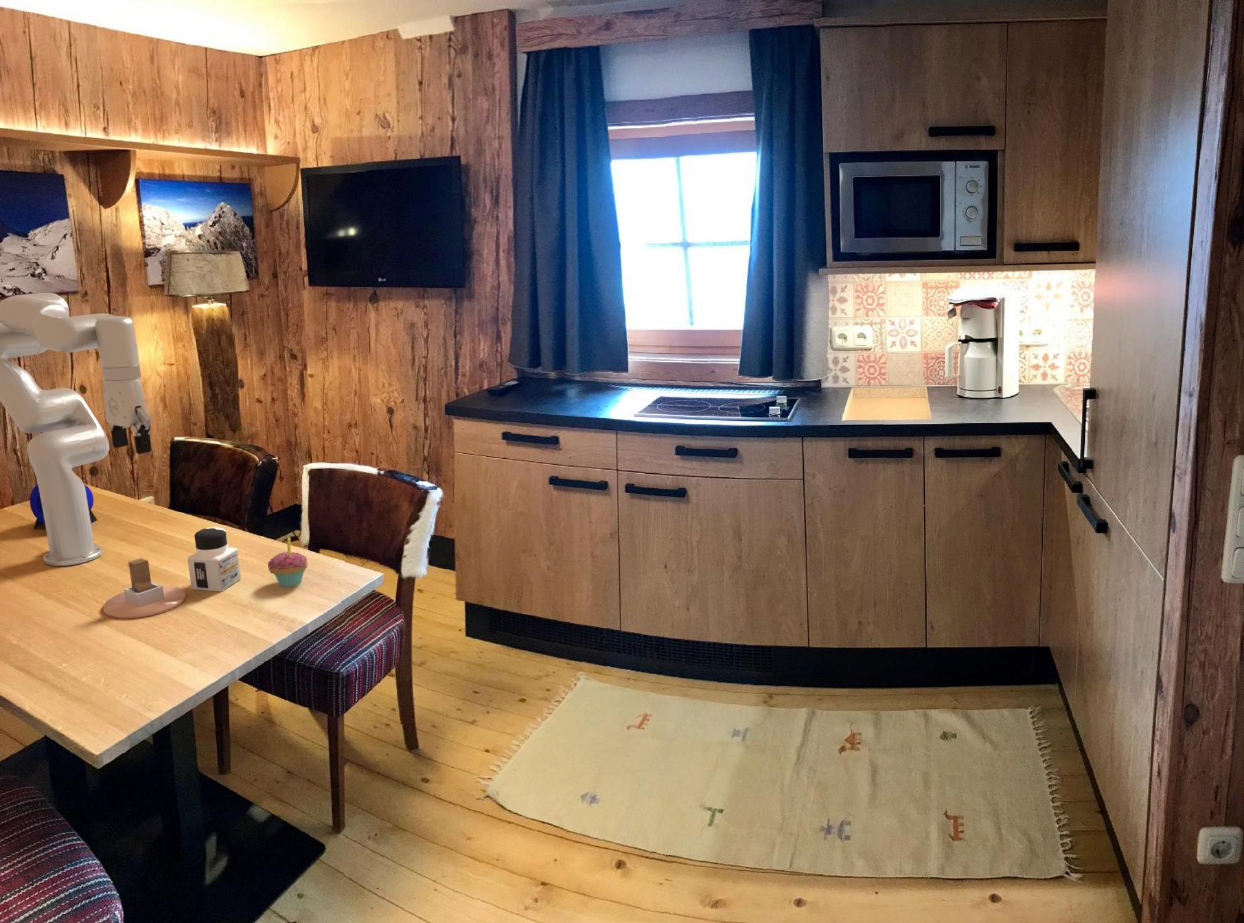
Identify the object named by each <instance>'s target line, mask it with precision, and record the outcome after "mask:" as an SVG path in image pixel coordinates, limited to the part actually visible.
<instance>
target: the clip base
mask: <svg viewBox="0 0 1244 923" xmlns="http://www.w3.org/2000/svg"><path fill="white" fill-rule="evenodd" d="M151 585H152V589H150V590H147V591H144V592H141V593H137V592H134V591H133V590H132V585H131V586H129V587H128V586H127V587H126V588H123V592H121V593H118V594H116V595H114V596H112V597H110V598H109V599H108V600H106V601H105V603H104V604H103V612H104V614H105V613H106V614H105V615H106V616H108V617H110V618H115V619H122V620H123V619H124V620H125V619H127V620H128V619H130V620H131V619H141V618H148V617H152V616H157V615H160V614H163V613H166V612H169V611H171V610H173V609H176V608H178V607H179V606H181V605H182V604H183V603H184V602H185V600H186V591H185V590H184V589H183V588H180V587H177V586H174V585H173V586H172V585H160V584H158V583H156V582H153V581H151Z"/></svg>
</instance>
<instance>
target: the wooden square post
mask: <svg viewBox="0 0 1244 923" xmlns="http://www.w3.org/2000/svg"><path fill="white" fill-rule="evenodd" d="M128 570H129V575H130V581H131V582H130V583H131V586H132V590H133V591H134V592H137V593H141V592H144V591H147V590H150V589H152V585H151V582H152V580H151V571H150V566H149V560H148V559H146V558H142V557H139V558H137V559H133V560H131V561H129V560H128Z"/></svg>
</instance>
